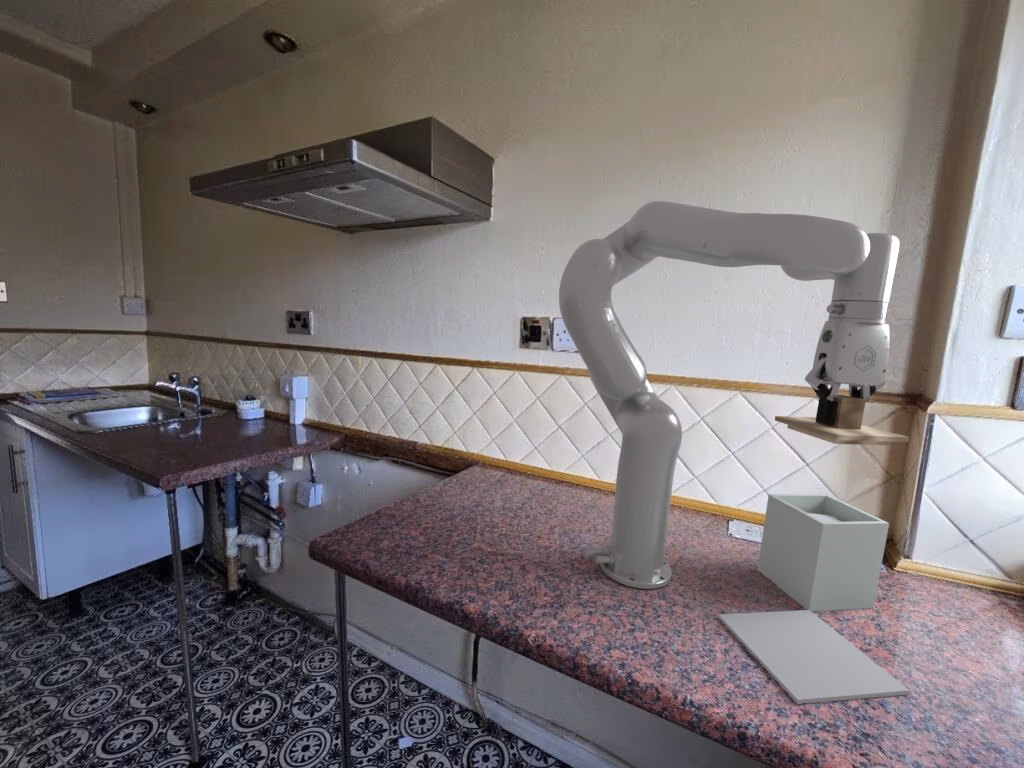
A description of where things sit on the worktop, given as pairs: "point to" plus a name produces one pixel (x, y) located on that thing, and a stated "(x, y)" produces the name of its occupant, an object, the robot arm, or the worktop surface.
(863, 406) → the lid
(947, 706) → the worktop surface
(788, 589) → the box
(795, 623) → the mat
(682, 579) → the worktop surface
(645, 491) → the robot arm
